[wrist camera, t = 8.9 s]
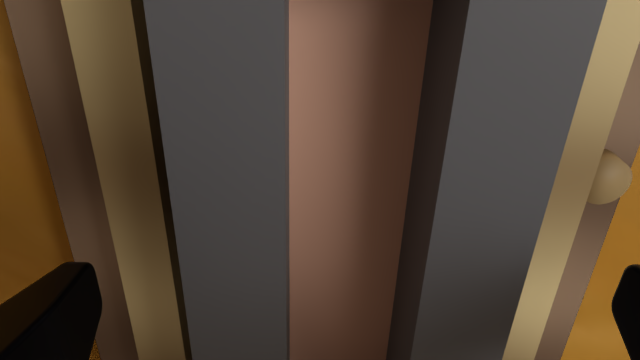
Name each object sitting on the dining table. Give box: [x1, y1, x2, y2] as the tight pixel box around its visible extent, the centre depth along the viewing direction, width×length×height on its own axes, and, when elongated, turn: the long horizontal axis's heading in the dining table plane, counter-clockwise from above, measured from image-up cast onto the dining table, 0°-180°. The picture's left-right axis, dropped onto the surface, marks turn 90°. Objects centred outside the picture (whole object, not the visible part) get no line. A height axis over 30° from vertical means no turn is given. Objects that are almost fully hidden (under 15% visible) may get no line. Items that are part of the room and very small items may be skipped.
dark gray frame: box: [143, 0, 607, 360], centre depth 11 cm, size 14×6×4 cm, turn 178°
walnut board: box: [4, 0, 640, 360], centre depth 13 cm, size 20×14×3 cm
